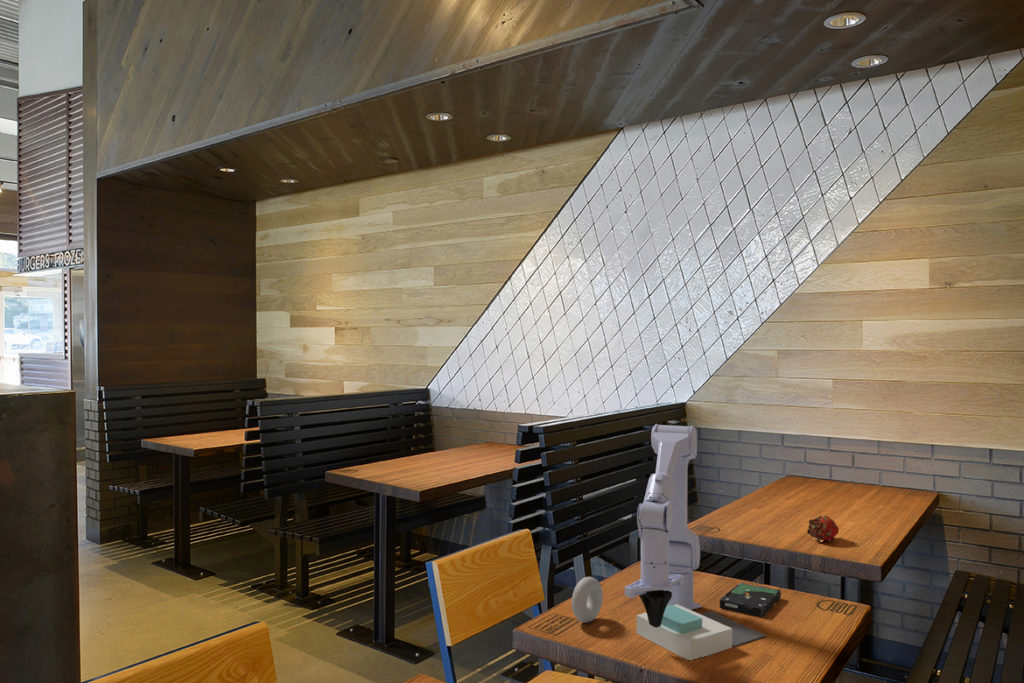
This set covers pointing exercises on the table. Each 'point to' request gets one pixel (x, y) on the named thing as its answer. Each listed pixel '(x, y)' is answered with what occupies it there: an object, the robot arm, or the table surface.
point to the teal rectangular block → (680, 620)
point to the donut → (580, 605)
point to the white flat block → (688, 637)
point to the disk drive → (750, 599)
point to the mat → (736, 629)
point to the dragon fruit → (823, 528)
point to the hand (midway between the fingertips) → (654, 625)
